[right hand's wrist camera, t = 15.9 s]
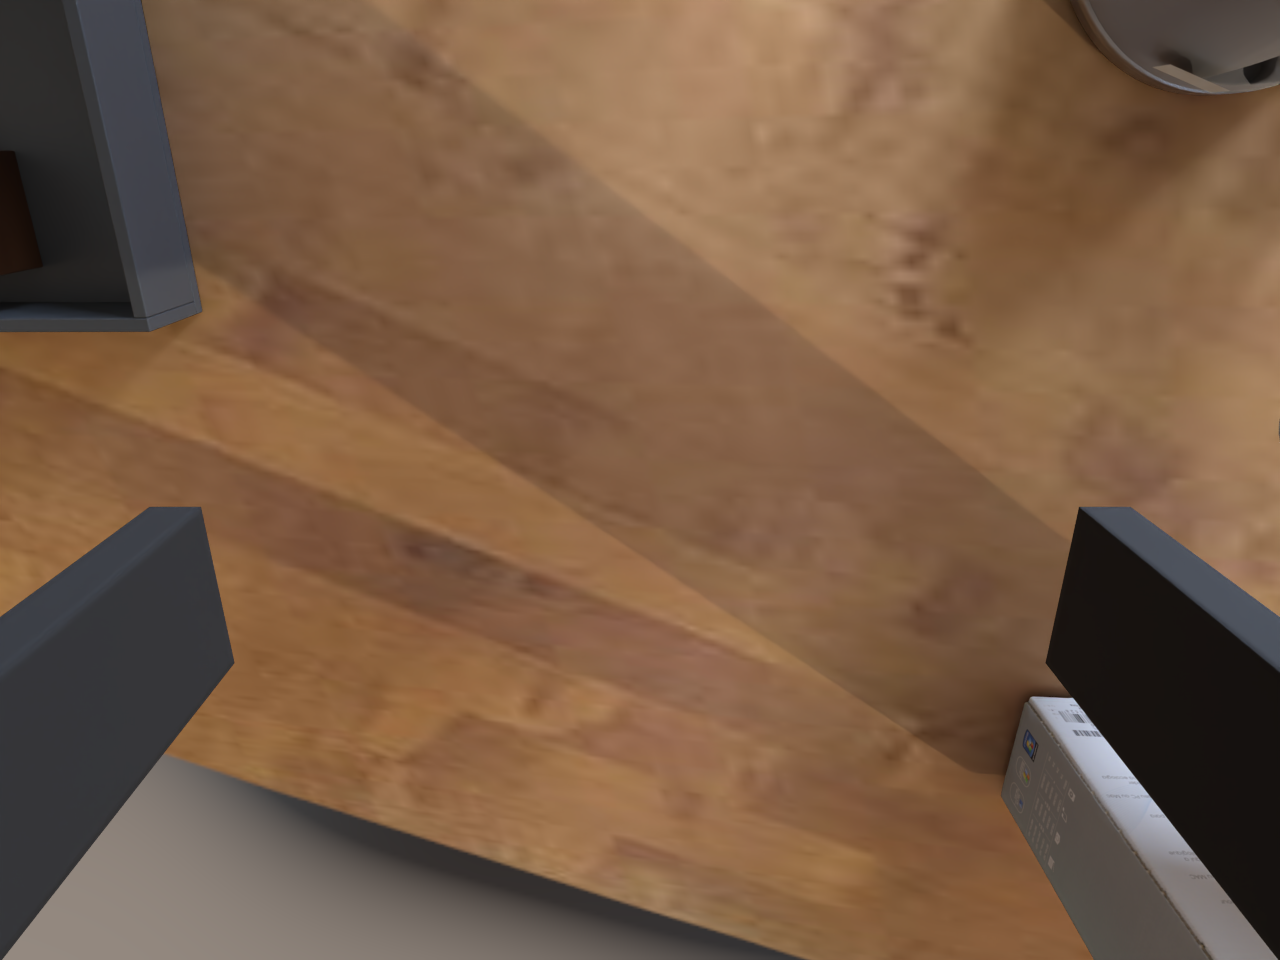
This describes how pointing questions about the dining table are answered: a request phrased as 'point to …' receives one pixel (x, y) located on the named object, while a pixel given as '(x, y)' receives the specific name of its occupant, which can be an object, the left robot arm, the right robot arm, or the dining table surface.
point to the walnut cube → (15, 221)
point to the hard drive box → (1115, 848)
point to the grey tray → (91, 171)
